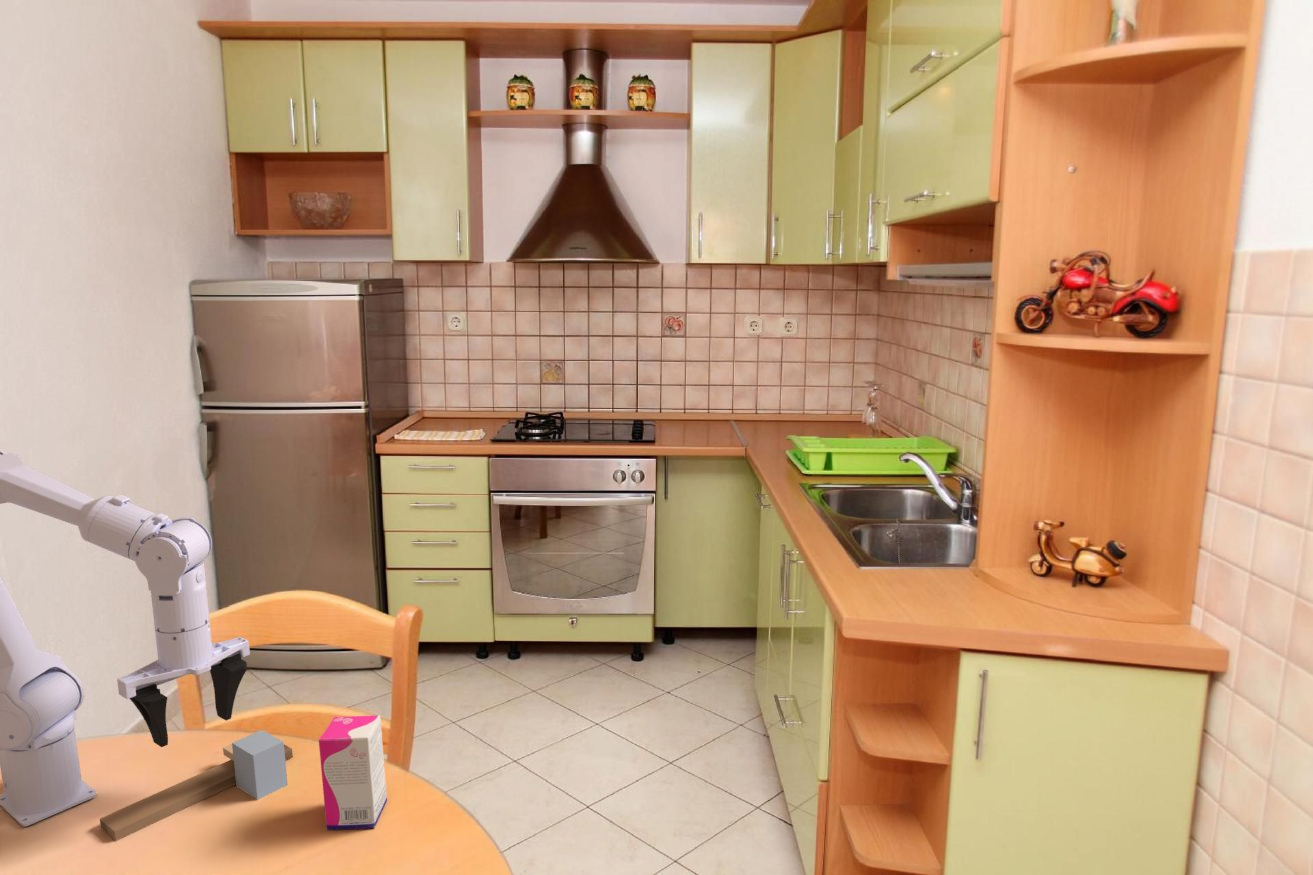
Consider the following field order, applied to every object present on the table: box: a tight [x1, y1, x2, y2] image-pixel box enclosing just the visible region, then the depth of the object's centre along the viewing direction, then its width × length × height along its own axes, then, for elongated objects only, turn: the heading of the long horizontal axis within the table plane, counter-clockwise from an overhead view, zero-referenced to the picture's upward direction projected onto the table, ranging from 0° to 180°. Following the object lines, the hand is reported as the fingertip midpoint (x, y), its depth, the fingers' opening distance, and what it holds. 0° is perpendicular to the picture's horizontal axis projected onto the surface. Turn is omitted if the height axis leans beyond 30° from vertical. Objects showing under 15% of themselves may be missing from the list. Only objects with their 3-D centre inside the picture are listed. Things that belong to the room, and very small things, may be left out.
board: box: [99, 744, 293, 842], centre depth 112 cm, size 4×22×1 cm, turn 143°
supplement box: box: [318, 715, 388, 831], centre depth 106 cm, size 6×6×12 cm
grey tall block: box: [222, 729, 289, 801], centre depth 114 cm, size 10×4×6 cm, turn 53°
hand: (193, 729), depth 107 cm, fingers open, 7 cm apart
